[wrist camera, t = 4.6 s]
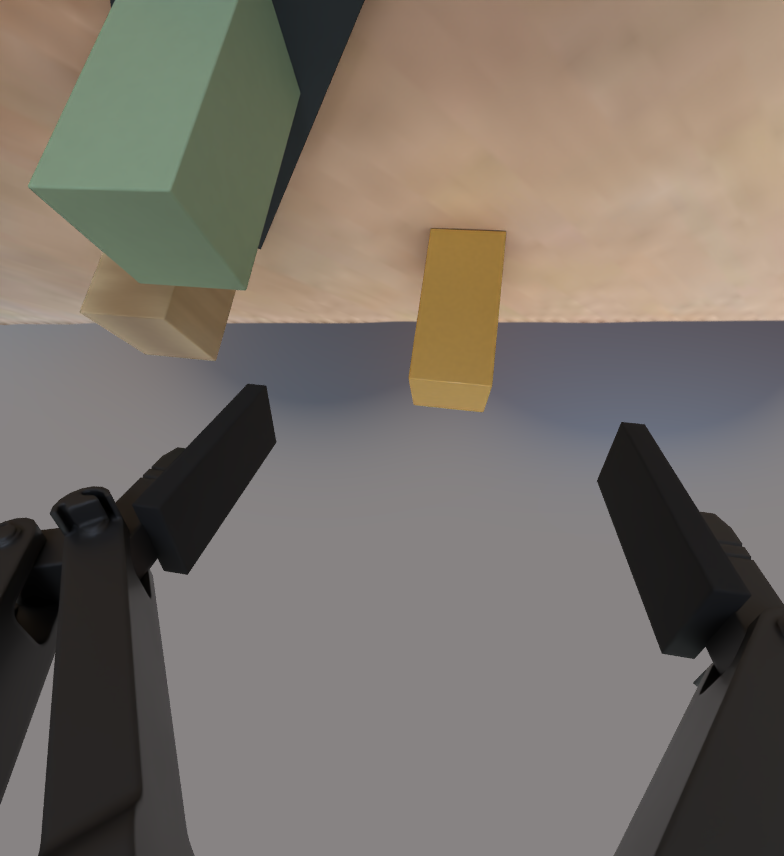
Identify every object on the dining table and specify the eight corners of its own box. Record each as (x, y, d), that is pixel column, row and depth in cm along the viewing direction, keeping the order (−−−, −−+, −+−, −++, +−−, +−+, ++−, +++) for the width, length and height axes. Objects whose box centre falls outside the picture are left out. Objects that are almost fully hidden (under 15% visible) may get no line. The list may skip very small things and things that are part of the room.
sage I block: (207, 96, 20) (141, 285, 18) (134, -45, 15) (25, 186, 13) (302, 95, 20) (248, 293, 17) (256, -53, 15) (169, 190, 12)
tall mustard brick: (432, 276, 32) (413, 405, 29) (430, 228, 27) (408, 378, 25) (496, 279, 31) (483, 413, 29) (506, 231, 27) (492, 386, 24)
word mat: (261, 244, 32) (259, 252, 31) (129, 183, 28) (126, 192, 27) (590, -547, 8) (588, -533, 8) (-48, -1909, 4) (-83, -1953, 3)
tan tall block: (192, 215, 29) (146, 355, 26) (142, 149, 24) (78, 312, 21) (258, 218, 28) (217, 362, 25) (219, 149, 23) (163, 319, 20)
